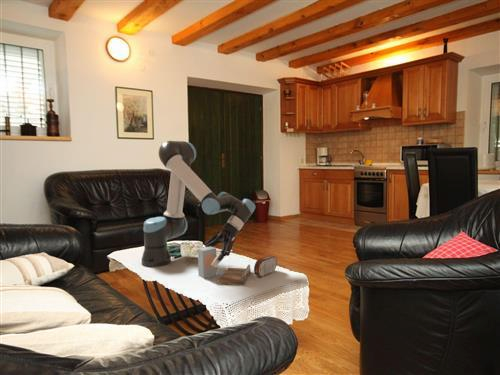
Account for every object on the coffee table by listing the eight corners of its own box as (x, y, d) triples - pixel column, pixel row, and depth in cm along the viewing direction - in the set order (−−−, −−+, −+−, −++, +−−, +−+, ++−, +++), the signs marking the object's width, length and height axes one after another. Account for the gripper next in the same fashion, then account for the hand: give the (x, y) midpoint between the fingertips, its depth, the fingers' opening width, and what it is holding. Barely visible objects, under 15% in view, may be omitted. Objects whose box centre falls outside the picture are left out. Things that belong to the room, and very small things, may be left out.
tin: (272, 269, 174) (272, 252, 173) (277, 271, 172) (277, 254, 171) (253, 278, 162) (253, 260, 161) (258, 279, 160) (258, 261, 159)
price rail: (248, 268, 171) (248, 264, 171) (250, 268, 171) (250, 264, 170) (241, 281, 153) (241, 277, 153) (243, 281, 153) (243, 277, 153)
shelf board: (228, 270, 173) (228, 267, 173) (250, 271, 171) (250, 268, 171) (218, 283, 155) (218, 280, 155) (243, 285, 153) (243, 281, 153)
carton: (198, 275, 166) (197, 248, 165) (211, 272, 170) (211, 246, 169) (203, 278, 162) (203, 250, 161) (217, 275, 166) (216, 248, 165)
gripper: (252, 235, 163) (225, 274, 156) (224, 227, 184) (199, 260, 177) (242, 225, 160) (214, 264, 153) (215, 218, 180) (189, 252, 173)
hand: (206, 262), depth 165 cm, fingers open, 13 cm apart
